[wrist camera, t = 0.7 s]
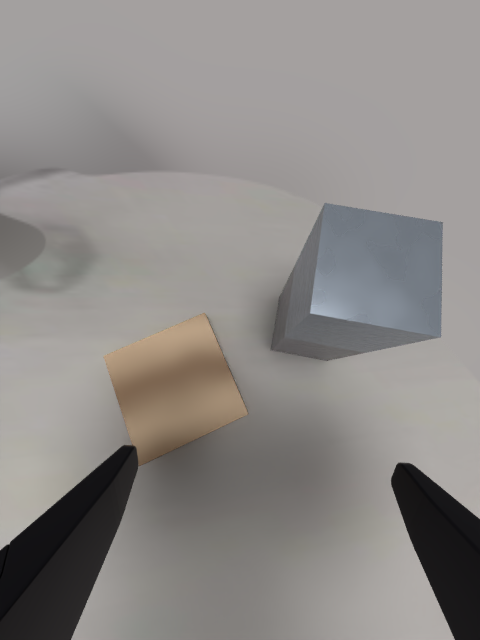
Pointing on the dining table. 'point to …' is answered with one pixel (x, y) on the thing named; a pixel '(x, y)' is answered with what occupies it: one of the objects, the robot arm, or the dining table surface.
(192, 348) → the cork pad
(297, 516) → the dining table surface
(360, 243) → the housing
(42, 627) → the robot arm
